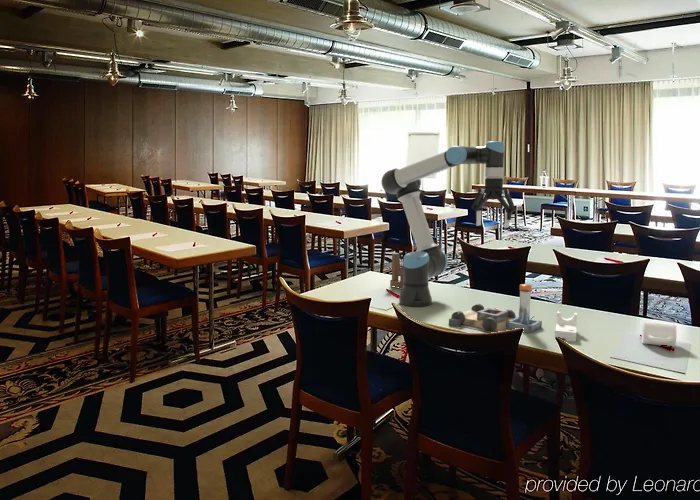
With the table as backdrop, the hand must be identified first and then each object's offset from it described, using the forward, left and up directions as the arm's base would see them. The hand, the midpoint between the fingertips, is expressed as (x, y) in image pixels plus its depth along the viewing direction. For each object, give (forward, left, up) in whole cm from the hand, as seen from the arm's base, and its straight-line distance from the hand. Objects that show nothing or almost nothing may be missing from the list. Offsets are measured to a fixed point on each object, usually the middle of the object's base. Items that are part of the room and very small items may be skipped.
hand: (492, 226), depth 239 cm
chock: (+3, -33, -37) cm, 50 cm away
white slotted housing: (+70, -7, -37) cm, 79 cm away
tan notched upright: (-55, +5, -37) cm, 66 cm away
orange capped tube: (+25, -18, -36) cm, 47 cm away
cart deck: (+10, -23, -37) cm, 44 cm away
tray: (+25, -18, -37) cm, 48 cm away
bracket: (+41, -16, -37) cm, 58 cm away
